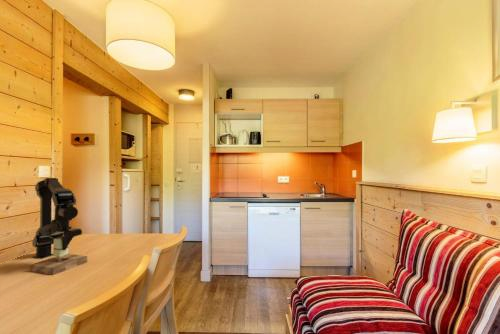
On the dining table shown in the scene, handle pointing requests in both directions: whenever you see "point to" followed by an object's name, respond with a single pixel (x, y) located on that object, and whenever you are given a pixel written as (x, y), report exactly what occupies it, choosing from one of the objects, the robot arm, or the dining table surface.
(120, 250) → the dining table surface
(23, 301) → the dining table surface
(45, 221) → the robot arm
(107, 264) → the dining table surface
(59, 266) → the board
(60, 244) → the peg
